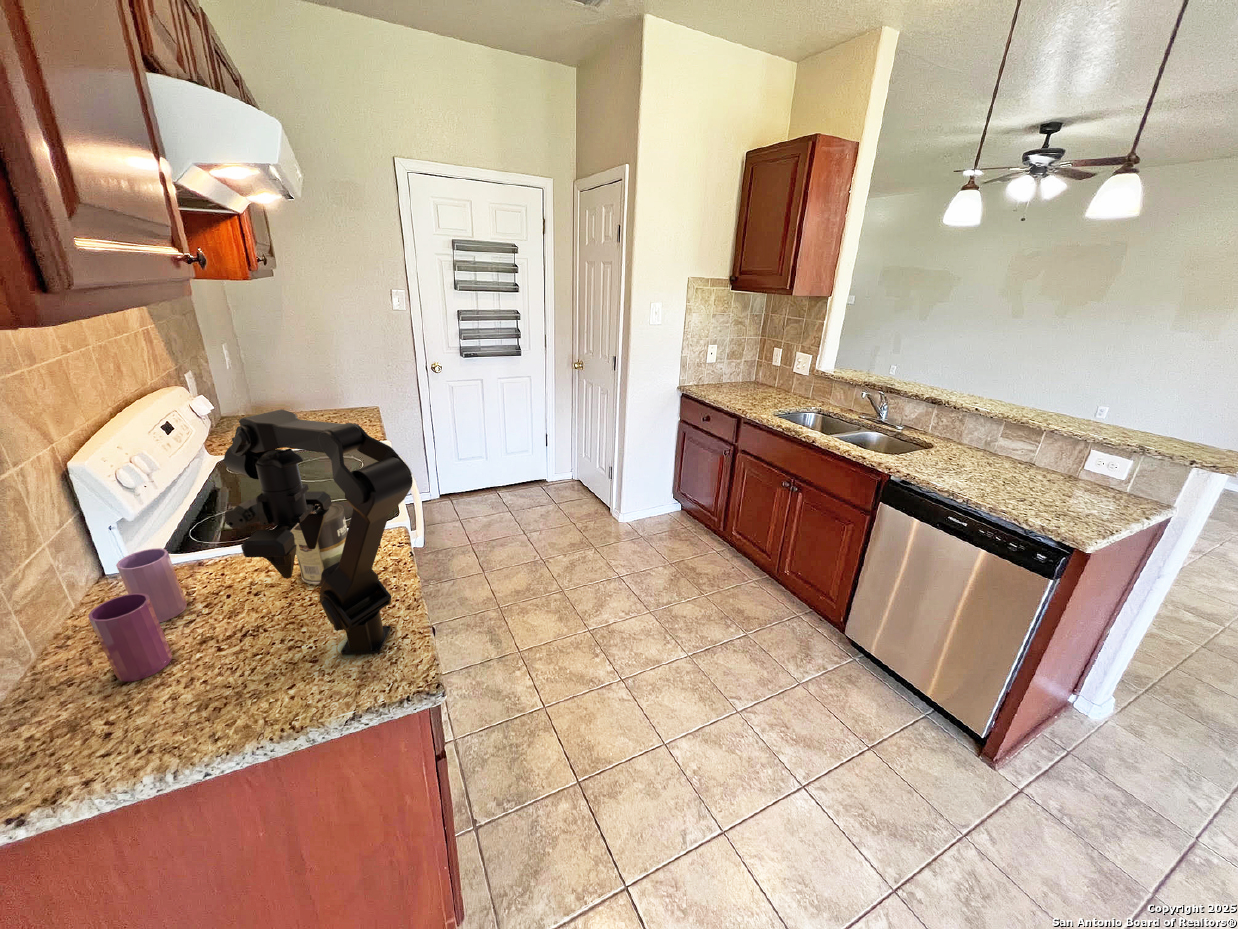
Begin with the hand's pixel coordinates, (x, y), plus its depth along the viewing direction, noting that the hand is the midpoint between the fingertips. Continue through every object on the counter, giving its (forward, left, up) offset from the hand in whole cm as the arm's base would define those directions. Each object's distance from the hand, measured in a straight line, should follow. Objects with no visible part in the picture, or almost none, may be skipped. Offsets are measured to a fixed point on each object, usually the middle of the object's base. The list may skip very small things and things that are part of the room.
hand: (300, 562), depth 89 cm
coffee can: (+15, +4, -12) cm, 20 cm away
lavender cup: (+3, +28, -12) cm, 31 cm away
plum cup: (-11, +22, -12) cm, 27 cm away
